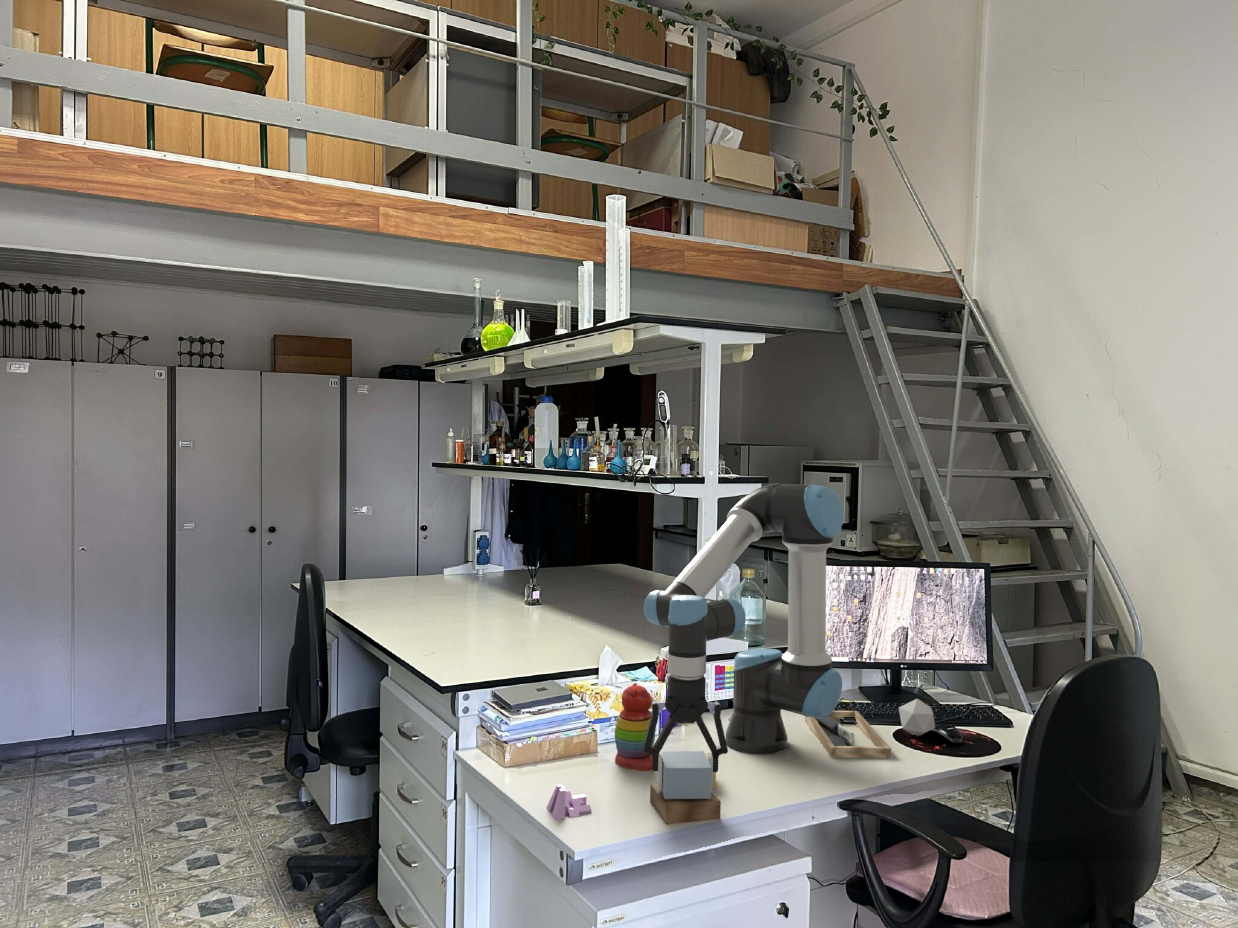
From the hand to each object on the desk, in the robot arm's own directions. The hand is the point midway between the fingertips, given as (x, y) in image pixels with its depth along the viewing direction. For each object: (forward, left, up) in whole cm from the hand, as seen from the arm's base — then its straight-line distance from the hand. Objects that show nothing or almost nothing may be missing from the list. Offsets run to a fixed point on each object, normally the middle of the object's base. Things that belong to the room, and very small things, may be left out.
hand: (684, 787), depth 168 cm
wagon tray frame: (-44, -45, -6) cm, 63 cm away
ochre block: (-4, -15, -6) cm, 17 cm away
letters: (+23, 0, -6) cm, 24 cm away
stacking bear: (+9, -28, -6) cm, 30 cm away
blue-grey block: (0, 0, 0) cm, 0 cm away
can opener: (-41, -45, -6) cm, 61 cm away
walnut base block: (0, 0, -6) cm, 6 cm away
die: (-63, -48, -6) cm, 79 cm away
